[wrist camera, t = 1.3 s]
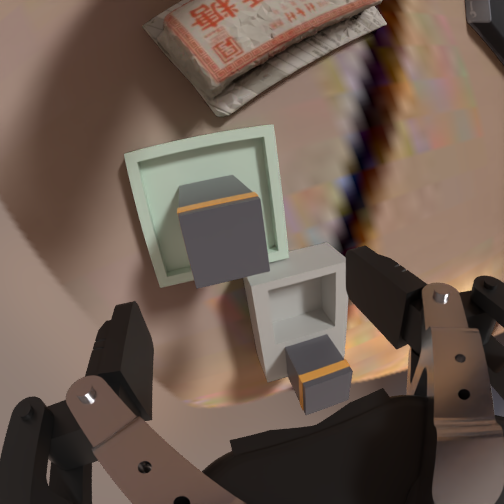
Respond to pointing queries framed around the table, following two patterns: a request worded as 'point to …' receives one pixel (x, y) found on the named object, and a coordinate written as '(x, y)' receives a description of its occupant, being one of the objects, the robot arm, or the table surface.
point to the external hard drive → (488, 23)
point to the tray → (199, 169)
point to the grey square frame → (303, 324)
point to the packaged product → (254, 41)
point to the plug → (222, 230)
